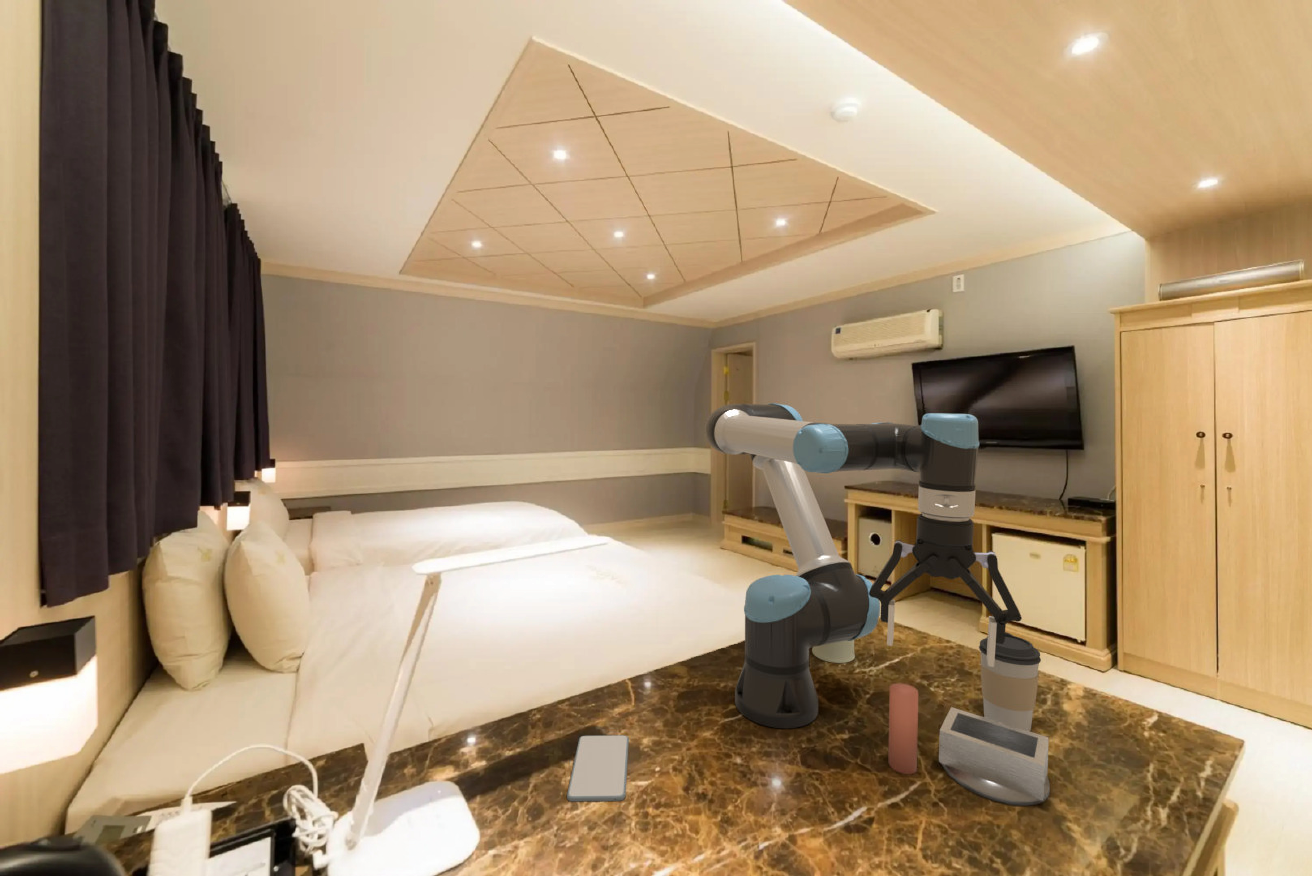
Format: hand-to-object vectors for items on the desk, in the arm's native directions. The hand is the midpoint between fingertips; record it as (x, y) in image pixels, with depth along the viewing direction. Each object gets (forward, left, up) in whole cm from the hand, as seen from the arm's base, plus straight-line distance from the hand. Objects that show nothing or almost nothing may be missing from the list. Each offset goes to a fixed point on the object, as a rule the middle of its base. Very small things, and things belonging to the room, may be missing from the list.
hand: (938, 652), depth 82 cm
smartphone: (-40, -33, -18) cm, 55 cm away
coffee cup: (+7, +21, -18) cm, 28 cm away
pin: (-4, -3, -18) cm, 19 cm away
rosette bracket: (+7, +4, -18) cm, 20 cm away
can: (-27, +28, -18) cm, 43 cm away
